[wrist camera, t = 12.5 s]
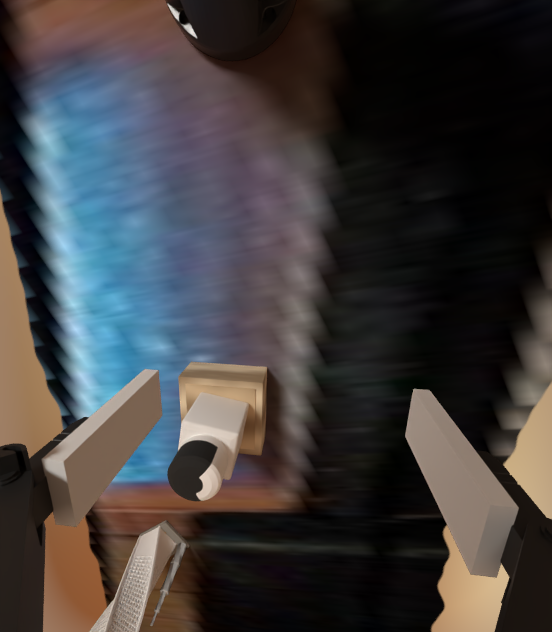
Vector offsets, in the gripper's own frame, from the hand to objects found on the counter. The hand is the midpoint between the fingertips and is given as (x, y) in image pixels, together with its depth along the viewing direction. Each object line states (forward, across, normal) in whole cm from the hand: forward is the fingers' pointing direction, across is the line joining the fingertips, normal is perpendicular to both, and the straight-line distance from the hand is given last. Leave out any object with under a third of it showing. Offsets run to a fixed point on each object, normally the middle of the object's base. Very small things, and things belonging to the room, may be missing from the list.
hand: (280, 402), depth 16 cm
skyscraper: (+29, -24, -50) cm, 63 cm away
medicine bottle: (+24, -10, -18) cm, 31 cm away
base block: (+29, -10, -18) cm, 35 cm away
